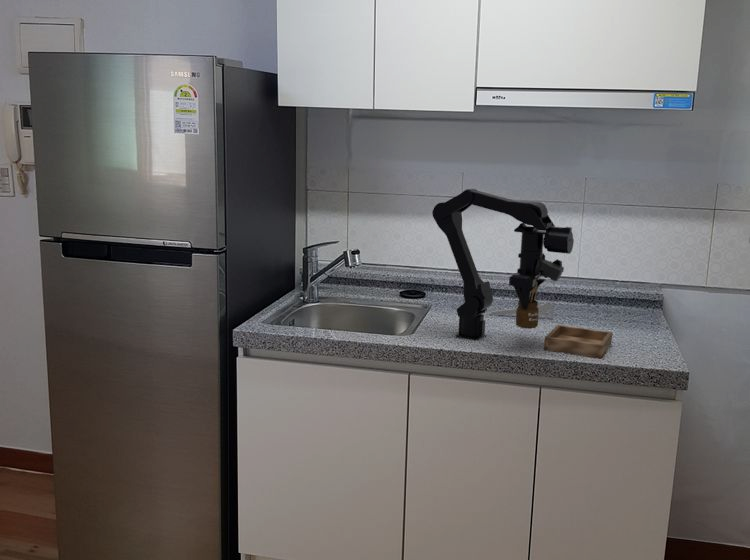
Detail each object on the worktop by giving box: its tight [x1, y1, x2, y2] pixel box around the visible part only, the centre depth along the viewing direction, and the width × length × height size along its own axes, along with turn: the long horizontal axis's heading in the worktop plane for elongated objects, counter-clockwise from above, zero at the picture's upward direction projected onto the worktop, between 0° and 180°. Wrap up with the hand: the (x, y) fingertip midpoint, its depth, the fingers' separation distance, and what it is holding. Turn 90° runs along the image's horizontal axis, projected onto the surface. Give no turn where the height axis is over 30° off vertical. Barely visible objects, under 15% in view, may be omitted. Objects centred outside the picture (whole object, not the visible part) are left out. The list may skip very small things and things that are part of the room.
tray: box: [543, 324, 613, 359], centre depth 198 cm, size 15×15×4 cm
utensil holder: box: [515, 281, 540, 330], centre depth 196 cm, size 6×6×12 cm
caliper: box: [487, 299, 555, 320], centre depth 230 cm, size 20×1×6 cm, turn 79°
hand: (527, 307), depth 196 cm, fingers closed on utensil holder, 5 cm apart
